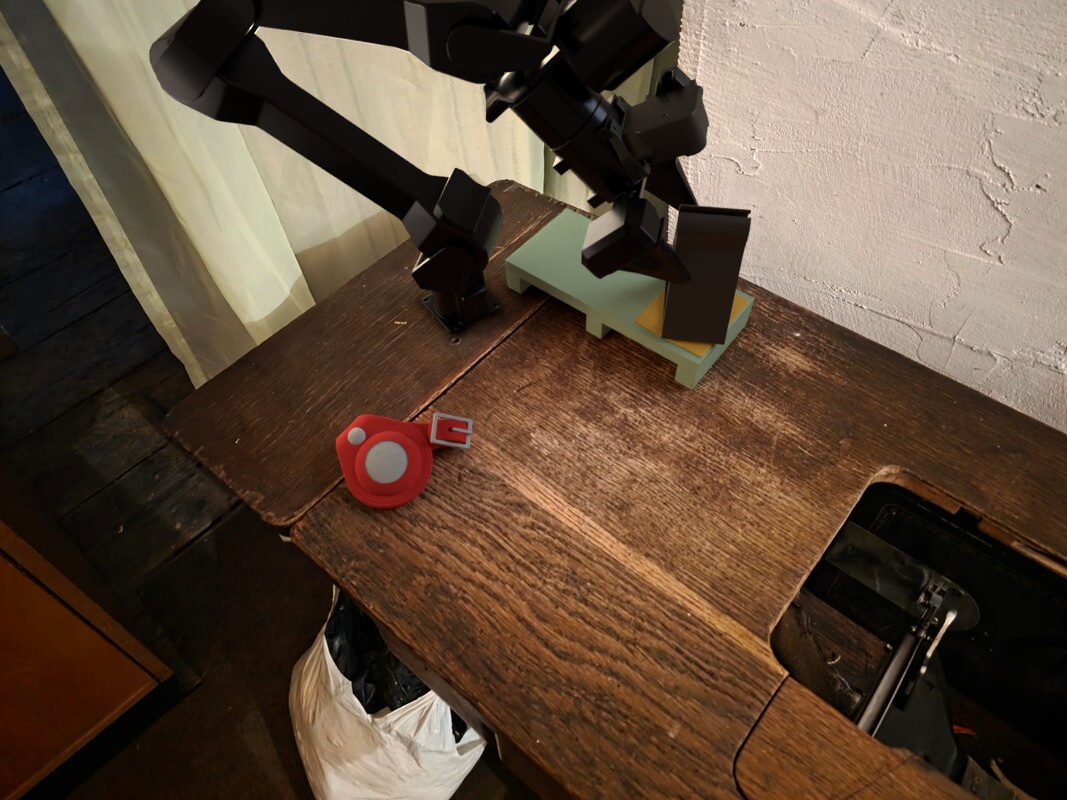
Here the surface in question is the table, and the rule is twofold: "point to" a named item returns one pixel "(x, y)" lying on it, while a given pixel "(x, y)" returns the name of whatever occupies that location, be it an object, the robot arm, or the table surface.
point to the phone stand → (705, 273)
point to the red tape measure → (395, 456)
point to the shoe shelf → (613, 296)
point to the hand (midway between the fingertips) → (691, 246)
